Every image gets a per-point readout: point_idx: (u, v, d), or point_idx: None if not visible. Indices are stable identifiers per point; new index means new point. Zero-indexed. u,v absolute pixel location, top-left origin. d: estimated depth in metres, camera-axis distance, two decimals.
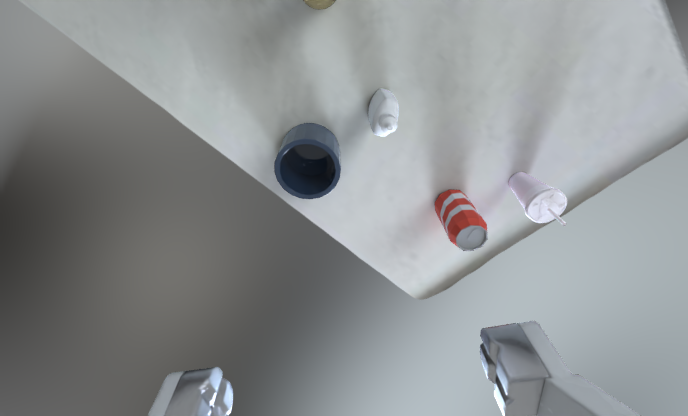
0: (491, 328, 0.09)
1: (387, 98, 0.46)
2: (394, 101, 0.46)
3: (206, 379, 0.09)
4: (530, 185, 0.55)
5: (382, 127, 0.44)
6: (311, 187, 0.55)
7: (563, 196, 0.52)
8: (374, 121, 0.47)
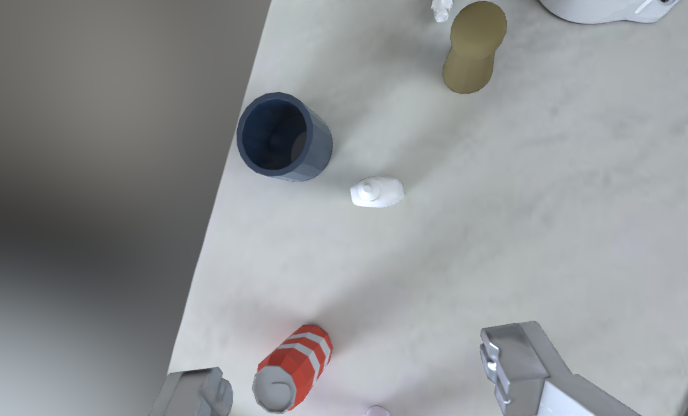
0: (491, 328, 0.09)
1: (396, 180, 0.36)
2: (397, 189, 0.36)
3: (206, 379, 0.09)
4: None
5: (362, 183, 0.34)
6: (256, 156, 0.43)
7: None
8: (364, 179, 0.37)
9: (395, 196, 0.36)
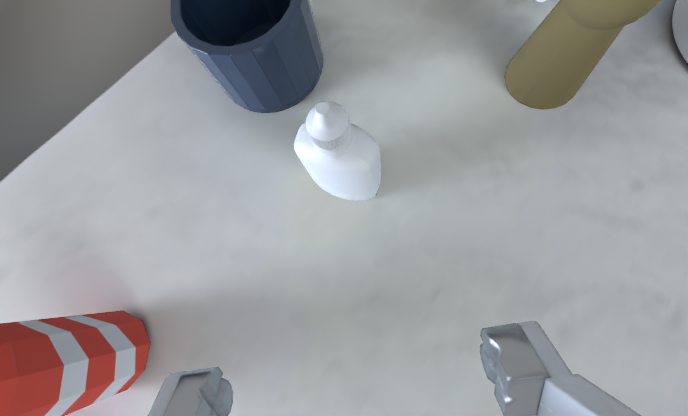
0: (491, 328, 0.09)
1: (378, 147, 0.21)
2: (372, 159, 0.20)
3: (206, 379, 0.09)
4: None
5: None
6: (199, 27, 0.27)
7: None
8: None
9: (364, 168, 0.20)
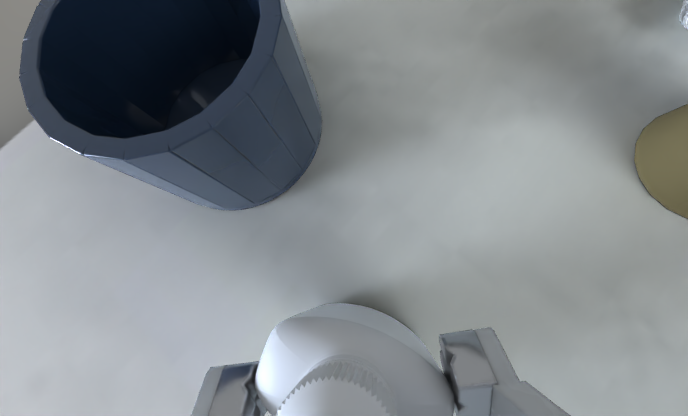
0: (448, 334, 0.09)
1: None
2: None
3: (249, 373, 0.09)
4: None
5: (317, 402, 0.06)
6: (98, 80, 0.15)
7: None
8: (339, 329, 0.09)
9: None
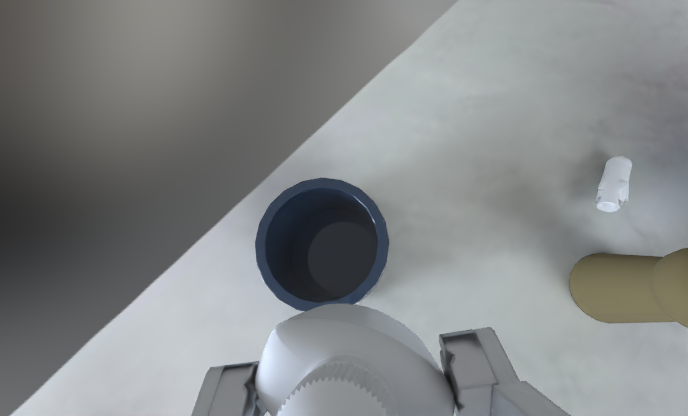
0: (448, 334, 0.09)
1: None
2: None
3: (249, 373, 0.09)
4: None
5: (317, 403, 0.06)
6: (275, 247, 0.27)
7: None
8: (339, 329, 0.09)
9: None
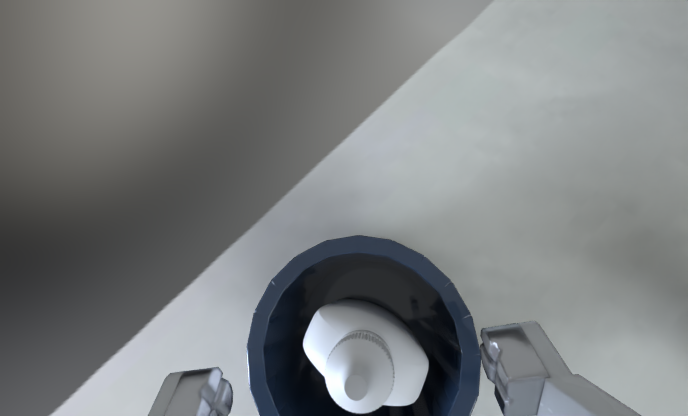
0: (491, 327, 0.09)
1: (427, 366, 0.14)
2: (418, 392, 0.13)
3: (206, 379, 0.09)
4: None
5: (352, 349, 0.11)
6: (280, 340, 0.17)
7: None
8: (360, 315, 0.14)
9: (404, 404, 0.13)
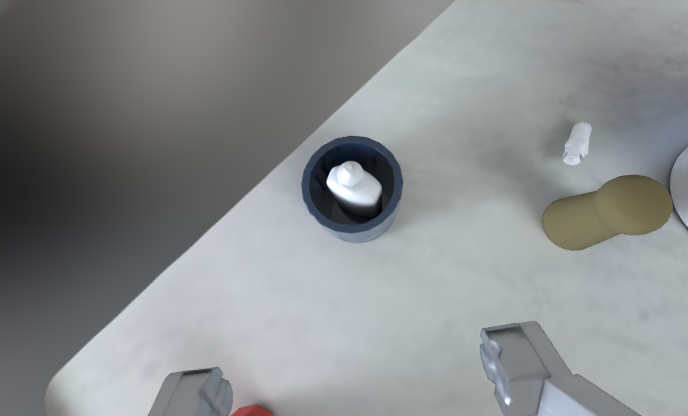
0: (491, 328, 0.09)
1: (380, 187, 0.32)
2: (376, 195, 0.32)
3: (206, 379, 0.09)
4: None
5: (347, 164, 0.29)
6: (314, 191, 0.36)
7: None
8: None
9: (370, 200, 0.32)
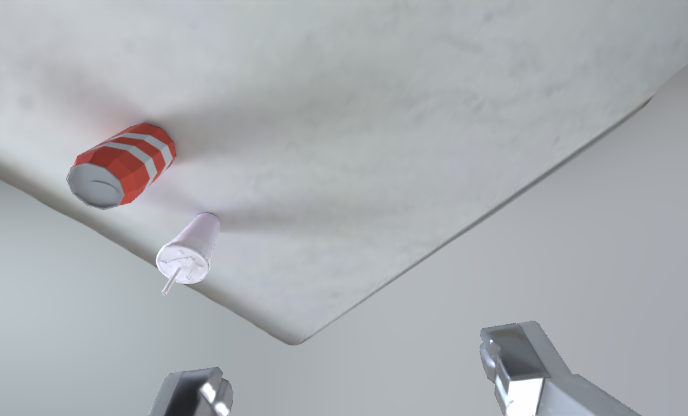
0: (491, 328, 0.09)
1: None
2: None
3: (206, 379, 0.09)
4: (205, 238, 0.43)
5: None
6: None
7: (201, 277, 0.42)
8: None
9: None
